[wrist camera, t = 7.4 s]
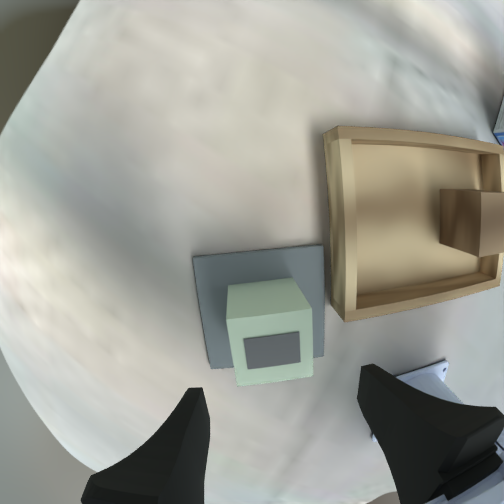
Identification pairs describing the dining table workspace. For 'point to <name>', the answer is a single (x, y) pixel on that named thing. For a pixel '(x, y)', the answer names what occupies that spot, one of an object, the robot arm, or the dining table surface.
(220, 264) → the rubber pad
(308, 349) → the sage block
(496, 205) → the walnut block
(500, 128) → the ink cartridge box
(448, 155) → the oak tray
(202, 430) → the robot arm
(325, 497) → the dining table surface
